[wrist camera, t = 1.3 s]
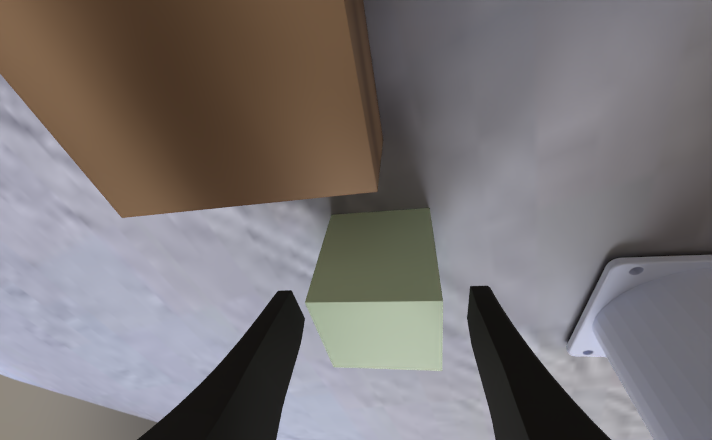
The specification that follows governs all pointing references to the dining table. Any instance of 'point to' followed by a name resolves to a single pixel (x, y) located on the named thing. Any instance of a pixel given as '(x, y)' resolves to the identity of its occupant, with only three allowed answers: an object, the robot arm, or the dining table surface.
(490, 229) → the dining table surface
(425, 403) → the dining table surface
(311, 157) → the walnut block
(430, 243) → the sage block
